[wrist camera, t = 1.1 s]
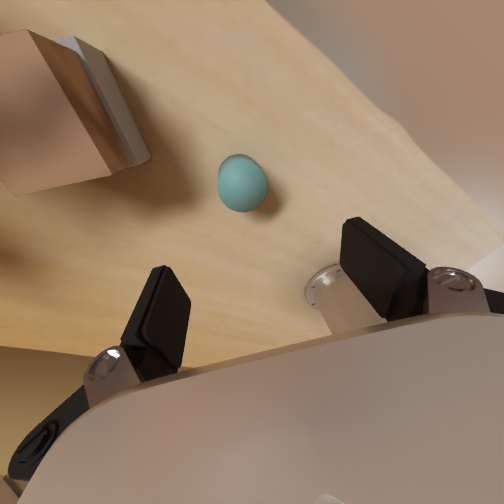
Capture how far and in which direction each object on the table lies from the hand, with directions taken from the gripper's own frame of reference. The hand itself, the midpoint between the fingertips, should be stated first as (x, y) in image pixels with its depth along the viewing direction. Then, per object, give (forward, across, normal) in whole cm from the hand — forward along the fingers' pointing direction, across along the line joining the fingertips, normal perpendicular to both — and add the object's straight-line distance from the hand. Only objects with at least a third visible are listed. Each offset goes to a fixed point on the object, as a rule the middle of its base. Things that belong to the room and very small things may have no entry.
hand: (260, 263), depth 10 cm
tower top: (+14, +14, -9) cm, 22 cm away
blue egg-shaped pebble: (+18, 0, 0) cm, 18 cm away
